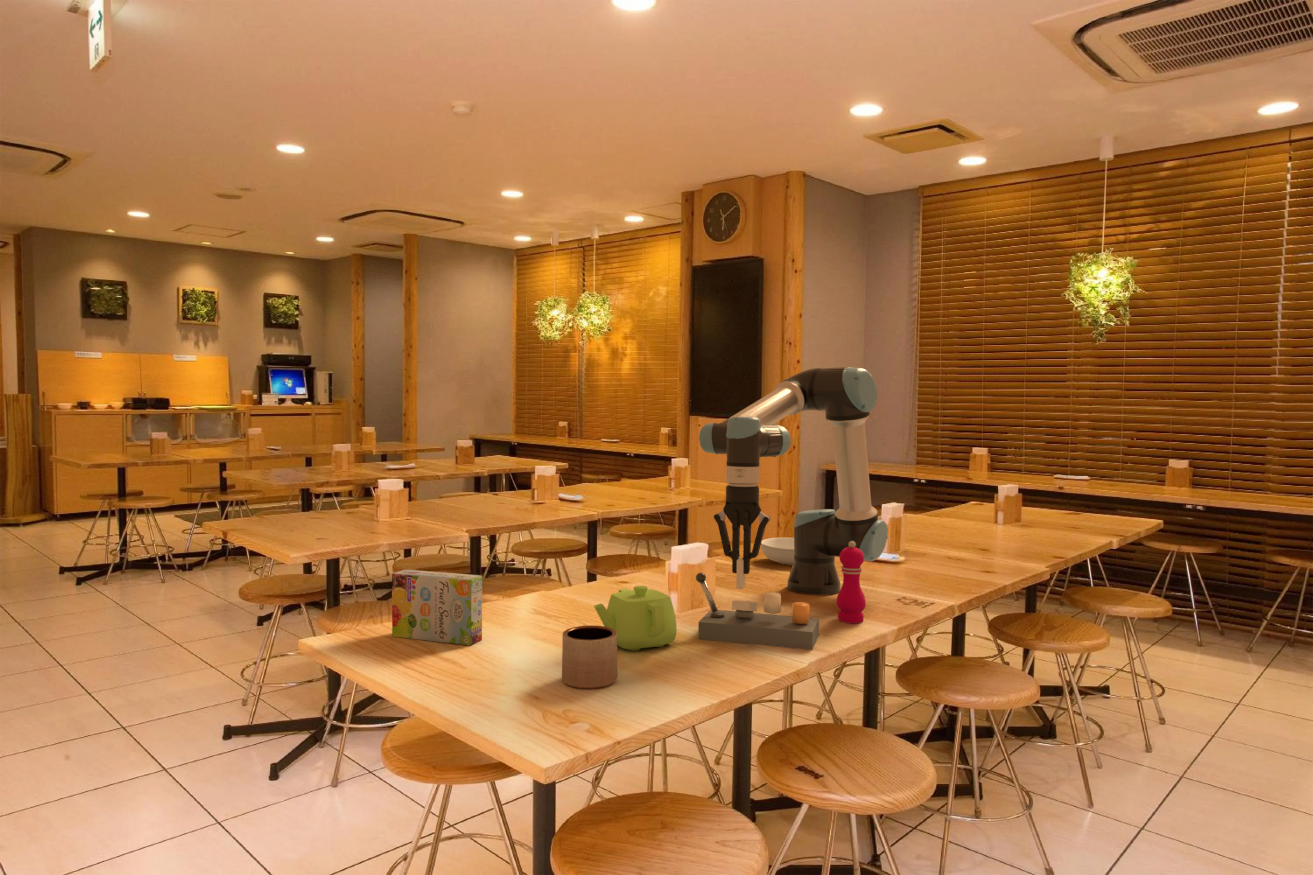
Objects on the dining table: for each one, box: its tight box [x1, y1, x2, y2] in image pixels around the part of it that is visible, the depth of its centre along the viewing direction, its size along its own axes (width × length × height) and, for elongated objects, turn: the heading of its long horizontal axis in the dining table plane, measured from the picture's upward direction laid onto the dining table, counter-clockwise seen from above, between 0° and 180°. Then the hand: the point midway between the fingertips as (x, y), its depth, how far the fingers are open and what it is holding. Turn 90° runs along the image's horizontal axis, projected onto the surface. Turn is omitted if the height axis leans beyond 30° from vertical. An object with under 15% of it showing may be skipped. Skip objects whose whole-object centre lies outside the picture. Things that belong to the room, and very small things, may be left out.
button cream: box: [763, 591, 782, 615], centre depth 192 cm, size 4×4×4 cm
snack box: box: [391, 569, 483, 646], centre depth 190 cm, size 21×6×15 cm, turn 71°
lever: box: [695, 572, 719, 613], centre depth 196 cm, size 2×2×10 cm
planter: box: [561, 625, 618, 690], centre depth 163 cm, size 11×11×10 cm
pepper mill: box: [835, 541, 867, 624], centre depth 208 cm, size 7×7×20 cm
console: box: [698, 609, 820, 651], centre depth 193 cm, size 12×26×6 cm, turn 72°
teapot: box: [593, 585, 677, 652], centre depth 186 cm, size 18×20×13 cm
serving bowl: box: [760, 536, 794, 566], centre depth 280 cm, size 21×21×7 cm
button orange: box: [791, 601, 810, 624], centre depth 190 cm, size 4×4×4 cm
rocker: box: [731, 599, 758, 612], centre depth 194 cm, size 10×4×2 cm, turn 162°
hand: (740, 587), depth 189 cm, fingers closed
